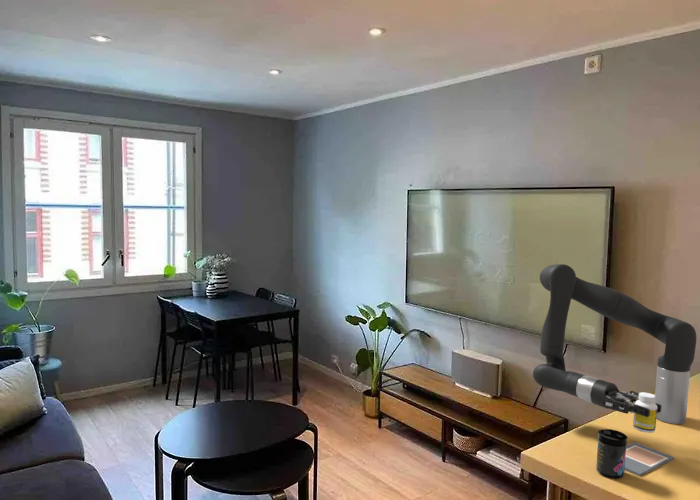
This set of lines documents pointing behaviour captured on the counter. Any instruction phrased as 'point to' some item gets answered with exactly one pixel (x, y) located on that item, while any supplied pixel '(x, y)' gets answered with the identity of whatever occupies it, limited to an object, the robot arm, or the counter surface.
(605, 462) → the supplement container
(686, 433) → the counter surface
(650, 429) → the supplement bottle
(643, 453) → the picture board
